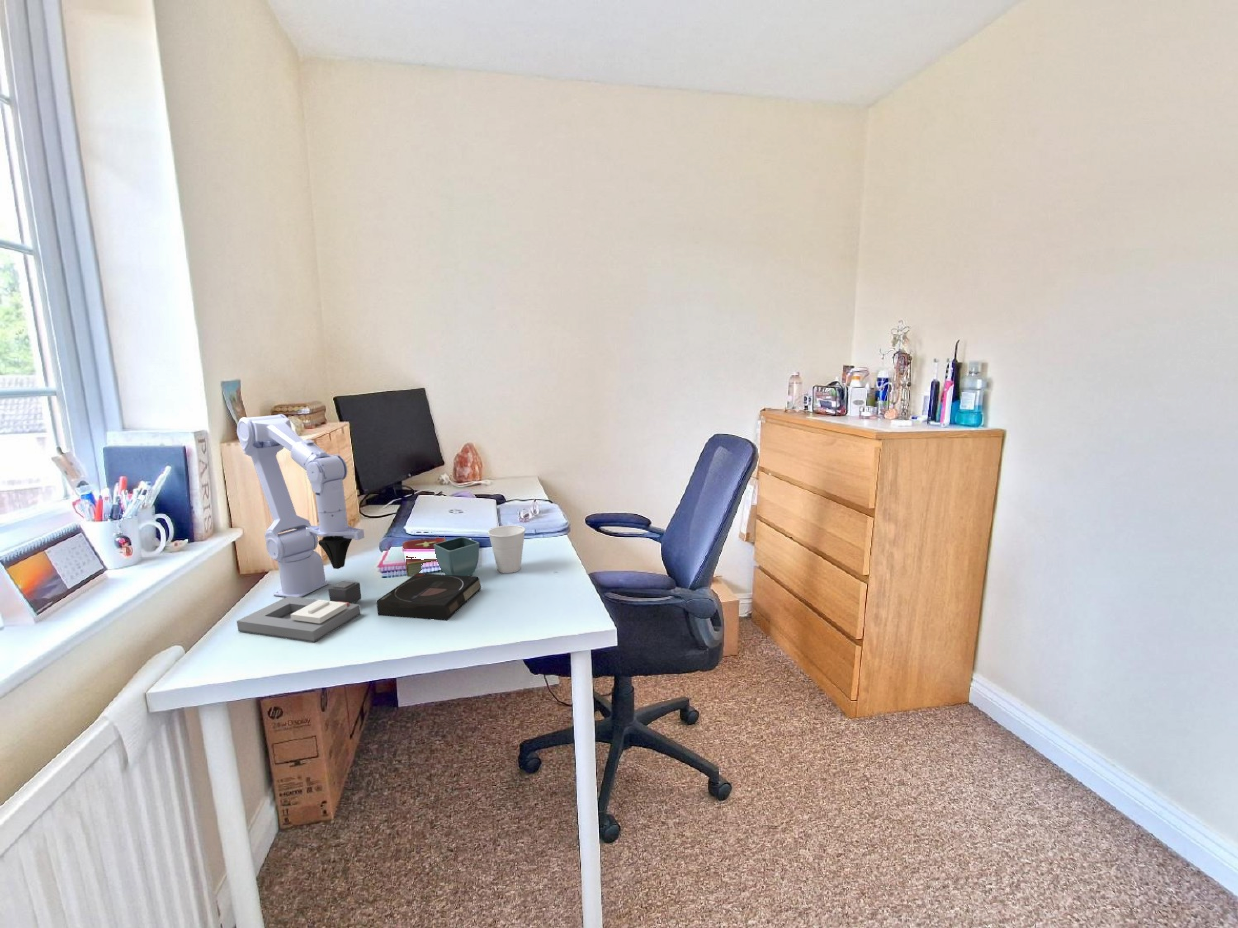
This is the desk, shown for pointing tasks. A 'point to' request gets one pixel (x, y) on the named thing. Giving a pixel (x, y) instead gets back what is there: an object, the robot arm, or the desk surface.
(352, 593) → the plug
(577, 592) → the desk surface
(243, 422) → the robot arm
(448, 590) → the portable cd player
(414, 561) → the hardcover book
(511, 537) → the cup
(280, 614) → the socket plate
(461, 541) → the flower pot
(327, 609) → the shutter
